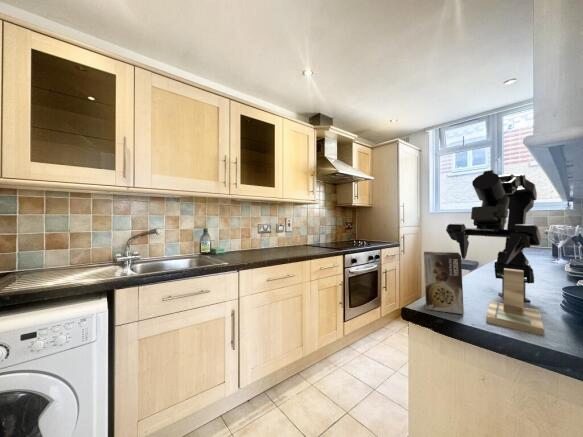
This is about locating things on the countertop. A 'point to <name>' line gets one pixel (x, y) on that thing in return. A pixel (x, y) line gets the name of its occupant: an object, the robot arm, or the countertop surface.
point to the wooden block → (514, 291)
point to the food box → (443, 282)
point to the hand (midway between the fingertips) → (483, 260)
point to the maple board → (515, 319)
